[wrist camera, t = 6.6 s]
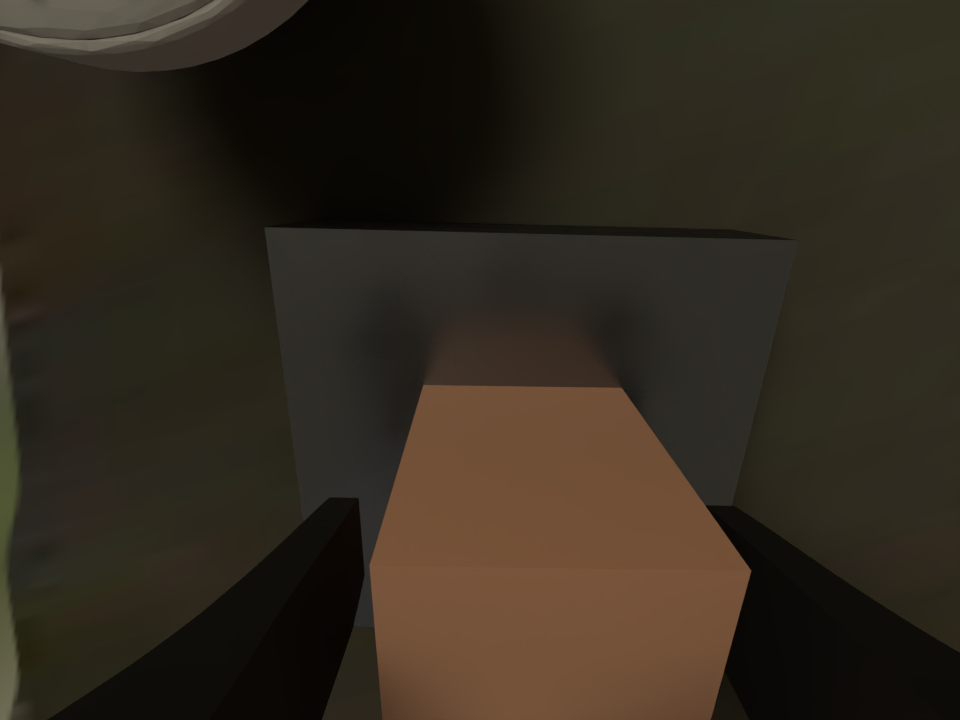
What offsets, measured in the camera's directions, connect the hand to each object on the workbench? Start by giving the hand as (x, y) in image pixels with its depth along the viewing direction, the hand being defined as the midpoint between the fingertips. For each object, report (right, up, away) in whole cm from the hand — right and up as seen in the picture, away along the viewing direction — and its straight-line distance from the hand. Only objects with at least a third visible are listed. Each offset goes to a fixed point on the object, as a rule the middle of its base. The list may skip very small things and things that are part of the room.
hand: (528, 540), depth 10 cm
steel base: (0, +2, +5) cm, 6 cm away
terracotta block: (0, +1, +3) cm, 3 cm away
